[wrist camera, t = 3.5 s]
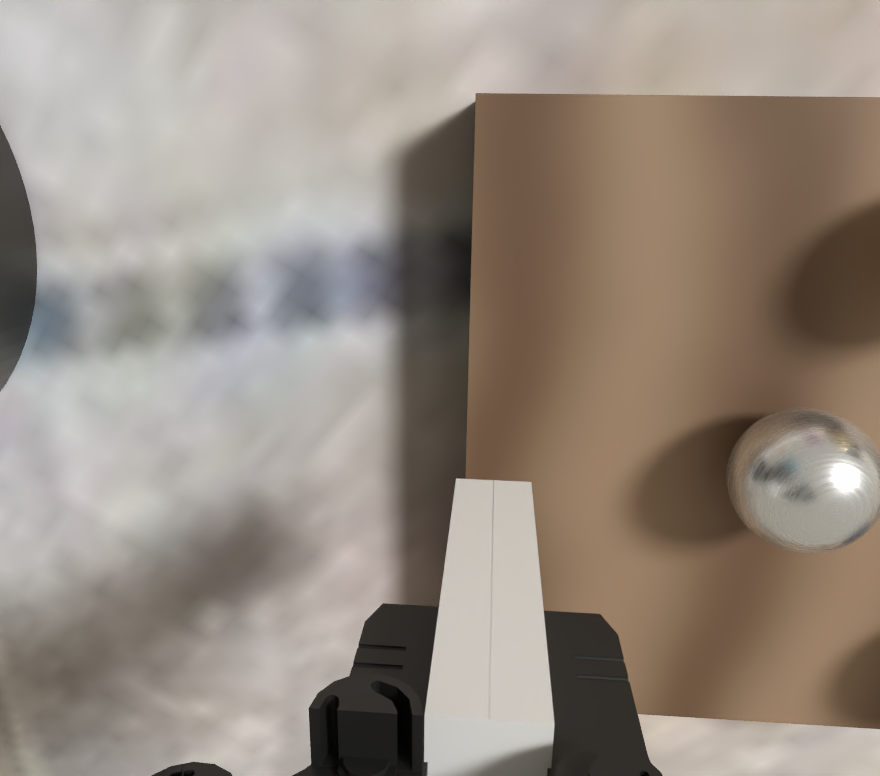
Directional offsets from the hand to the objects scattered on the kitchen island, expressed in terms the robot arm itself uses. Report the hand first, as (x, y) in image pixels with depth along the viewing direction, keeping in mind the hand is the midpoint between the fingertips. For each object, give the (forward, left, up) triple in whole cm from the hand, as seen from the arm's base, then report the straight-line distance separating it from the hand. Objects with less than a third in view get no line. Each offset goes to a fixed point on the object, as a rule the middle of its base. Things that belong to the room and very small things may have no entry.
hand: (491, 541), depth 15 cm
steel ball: (+7, 0, -3) cm, 8 cm away
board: (+10, 0, -7) cm, 13 cm away
